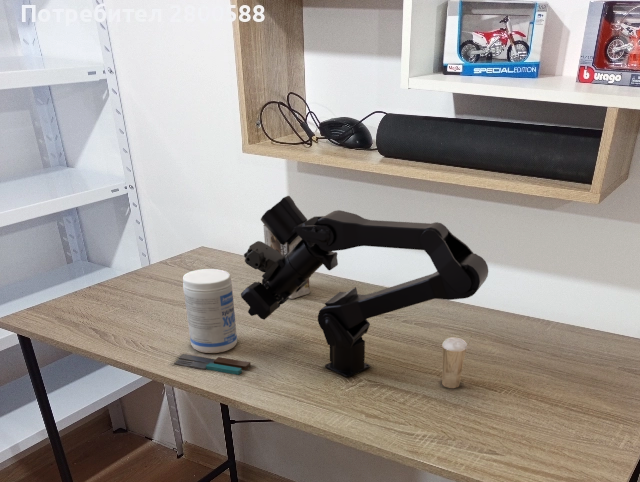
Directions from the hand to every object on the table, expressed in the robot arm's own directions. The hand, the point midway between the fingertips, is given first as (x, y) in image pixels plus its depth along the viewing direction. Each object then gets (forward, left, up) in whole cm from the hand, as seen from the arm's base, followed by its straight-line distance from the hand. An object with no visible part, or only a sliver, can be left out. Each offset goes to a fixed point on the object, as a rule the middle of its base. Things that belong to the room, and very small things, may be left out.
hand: (250, 313), depth 135 cm
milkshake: (-38, -17, -8) cm, 43 cm away
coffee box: (+21, -28, -8) cm, 36 cm away
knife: (+1, +9, -8) cm, 12 cm away
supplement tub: (+8, +4, -8) cm, 12 cm away
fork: (0, +11, -8) cm, 14 cm away
